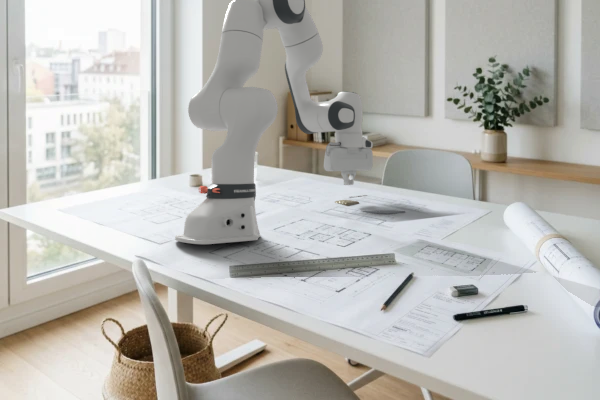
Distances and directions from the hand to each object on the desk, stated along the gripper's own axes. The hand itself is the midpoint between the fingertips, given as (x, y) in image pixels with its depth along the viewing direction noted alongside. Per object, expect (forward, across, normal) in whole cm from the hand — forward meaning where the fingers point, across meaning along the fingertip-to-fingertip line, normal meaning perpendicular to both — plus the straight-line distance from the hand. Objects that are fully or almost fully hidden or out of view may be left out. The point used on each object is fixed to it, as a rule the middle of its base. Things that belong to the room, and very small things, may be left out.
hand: (348, 184), depth 197 cm
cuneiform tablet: (+6, 0, -5) cm, 8 cm away
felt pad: (+8, 0, -14) cm, 16 cm away
